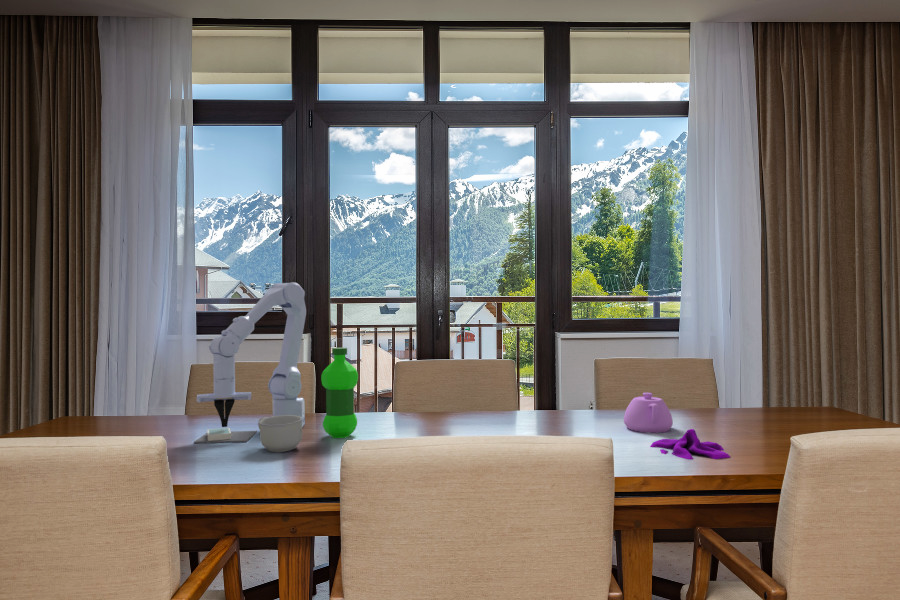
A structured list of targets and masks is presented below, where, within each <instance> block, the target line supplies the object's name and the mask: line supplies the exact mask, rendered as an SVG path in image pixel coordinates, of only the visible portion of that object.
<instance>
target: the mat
mask: <svg viewBox="0 0 900 600" xmlns="http://www.w3.org/2000/svg"><path fill="white" fill-rule="evenodd" d="M230 431H231V430H230ZM256 432H258V431H257V430H240V431H238V430H237V431H236V430H235V431H234V430H233V431H231V439H225V440H213V441H208V437H207V432H206V433H204V434H203V435H201V436H200V437H199V438H198V439H196V440H194V441H193V444H194V443H195V444H225V443H224V442H232V443H247V442H248V441H250V440H251V438H253V436H254V434H255V433H256ZM256 434H257V433H256ZM256 434H255V435H256Z"/></svg>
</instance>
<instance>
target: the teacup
mask: <svg viewBox="0 0 900 600" xmlns="http://www.w3.org/2000/svg"><path fill="white" fill-rule="evenodd" d="M257 425H258V429H259V436H260V442H261V445H262V447H264V449H267V450H268V451H269V452H272V453H283V452H290V451H293V450H294V449H296V447H297V446H298V445H299V444H300V443H301V441H302V438H303V427H302V418H301V417H300V416H296V415H280V416H273V415H272V416H270V417H269V416H268V417H266V416H264V417H261V418H260V419H259V420H258V423H257Z"/></svg>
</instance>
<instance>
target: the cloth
mask: <svg viewBox="0 0 900 600" xmlns="http://www.w3.org/2000/svg"><path fill="white" fill-rule="evenodd" d="M649 447H650V448H657V449H659V451H660V453H661V454H663V455H667V454H669V452H670V451H669V450H672V452H671V455H672V456H676V457H677V458H680V459H684V460H689V461H690V460H694V457H693V456H692V455H695V456H696V455H697V456H701V457H702V456H703V457H706V458H709V459H711V460H720V459H728V458H731V456H730V455H729V453H728V452H725V449H724V447H723V446H722V445H721V444H719V443H718V442H714V441H713V442H712V441H700V439H699V437H698V435H697V432H696V430H695V429H694V428H690V429H687V430H686V432H685V433H684V434H683V436H682V437H680V438H679V439H676V438H672V439H671V438H662V439H659V440H655V441H653V442H652V443H651V445H649Z"/></svg>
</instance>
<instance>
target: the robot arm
mask: <svg viewBox="0 0 900 600" xmlns="http://www.w3.org/2000/svg"><path fill="white" fill-rule="evenodd" d="M305 295H306V291H305V290H304V289H303V288H302V286H301V285H300V284H299V283H297V282H293V281H292V282H282V283H281V282H276V283H273V284H272V285H271V287H270V288H268V289H267V290H265V293H264V294H263V296H262V297H261V298H260V299H259V300H258V301H257V302H256V303H255V305H253V307H252V308H251V309H250V310H249V312H247V314H246V315H244V316H243V315H241V316H238V317H234V318H233V319H232V323H230V325H229V326H228V327H227V328H226V329H223V330H222V331H221V333H220V334H221V335H219V336H215V337H214V338H213V339H212V340H211V343H210V345H209V346H208V348H209V352H210V353H211V354H212V356H213V357H212V358H213V362H212V363H213V365H212V366H213V369H212V370H213V393H204V394H201V393H200V394H197V395H196V403H201V402H202V403H203V402H213V405H214V407H215V410H216V412H217V414H218V416H219V419H220V424H221V427H222V428H228V425H229V424H228V422H229V418H230V415H231V411H232V409H233V406H234V404H235V401H240V400H241V401H245V400H248V401H250V400H251V401H252V391H248V392H247V391H246V392H244V391H243V392H240V391H238V392H237V391H236V362H235V361H236V358H235V357H236V356H235V355H236V354H237V353H239V350H240V345H241V344H242V343H243V342H244V341H245V340H246V339H247V337H249V335H251V334H252V332H254V330H255V324H256V323H257V322H258V321H259V320H260V319H261V318H262V317H263V316H265V314H266V313H268V312H269V311H270V310H272V309H273V307H275V306H276V307H277V306H279V307H280V308H281V309H282V310H283V311H284V312H285V313H286V315H287V317H286V323H285V327H284V333H283V338H282V345H281V352H280V356H279V361H278V365H277V366H276V367H275V368H274V369H273V370H272V376H271V377H270V378H269V381H268V383H267V388H268V391H269V393H270V394H271V398H272V417H273V416H280V415H296V416H300V417H301V418H302V428H303V427H304V426H305V425H306V418H305V416H306V414H305V412H306V411H305V409H306V408H305V406H306V405H305V398H304V397H298V395H299V394H300V393H301V391H302V386H303V385H302V380H301V378H302V377H301V375H302V374H301V372H300V371H299V369H298V363H299V358H300V351H301V346H302V339H303V333H304V328H305V322H306V318H307V317H306V316H307V307H306V303H305V302H306V301H305Z"/></svg>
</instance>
